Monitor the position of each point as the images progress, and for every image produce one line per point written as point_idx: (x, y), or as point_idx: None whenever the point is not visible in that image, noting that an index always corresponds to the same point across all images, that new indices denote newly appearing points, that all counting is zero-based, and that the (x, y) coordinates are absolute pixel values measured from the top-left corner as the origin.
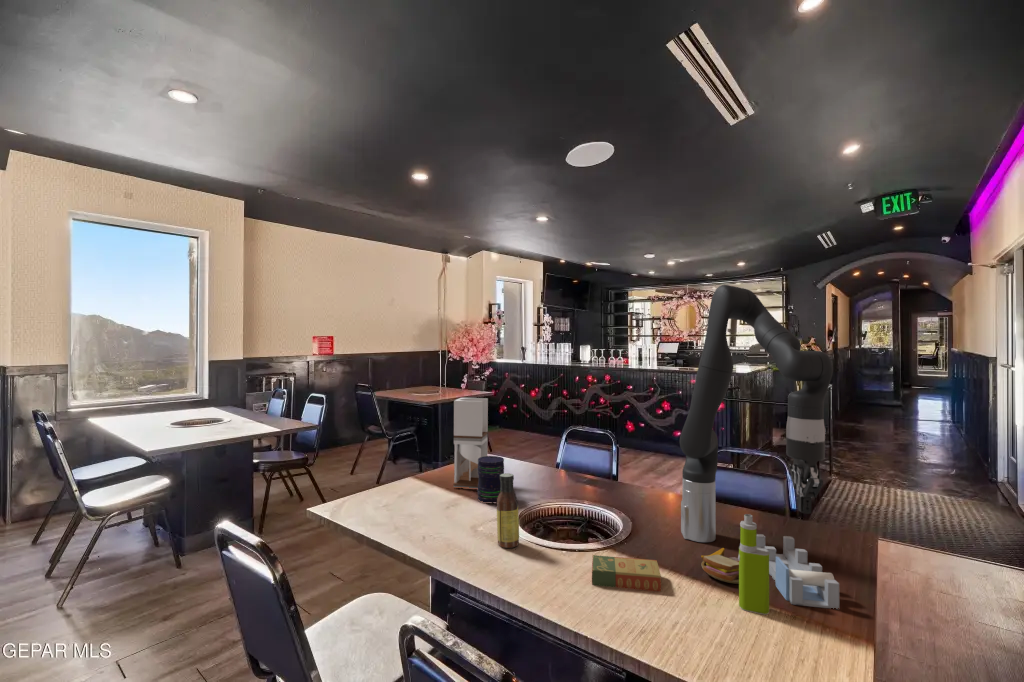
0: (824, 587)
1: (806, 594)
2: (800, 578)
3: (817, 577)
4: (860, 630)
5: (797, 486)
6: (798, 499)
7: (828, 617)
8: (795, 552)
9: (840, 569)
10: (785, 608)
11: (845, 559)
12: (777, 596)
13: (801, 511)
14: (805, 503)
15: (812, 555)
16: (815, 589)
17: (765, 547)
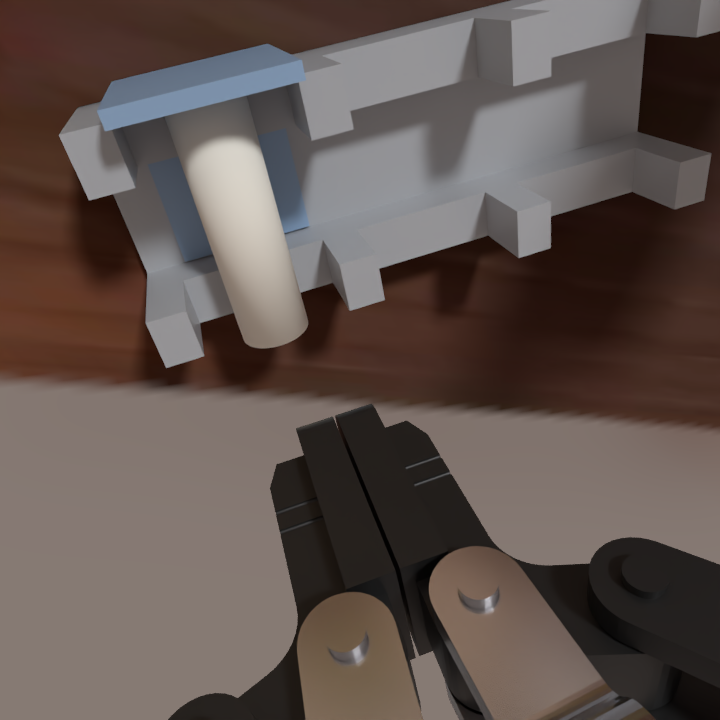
0: None
1: None
2: (111, 190)
3: (227, 276)
4: (12, 363)
5: (540, 679)
6: (412, 501)
7: (49, 262)
8: (535, 196)
9: (543, 341)
10: (2, 65)
11: (630, 362)
12: (135, 36)
13: (299, 437)
14: (289, 566)
15: (652, 256)
16: None
17: (533, 14)
